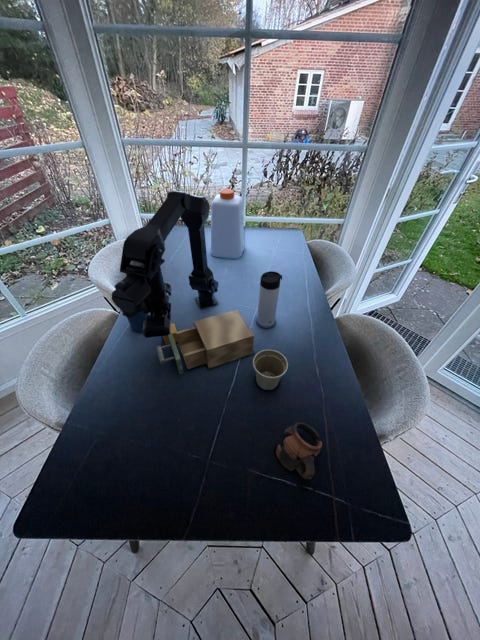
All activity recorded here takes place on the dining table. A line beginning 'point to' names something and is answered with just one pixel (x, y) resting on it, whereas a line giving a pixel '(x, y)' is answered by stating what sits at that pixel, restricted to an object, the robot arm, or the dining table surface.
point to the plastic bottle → (227, 225)
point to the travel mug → (268, 298)
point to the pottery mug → (299, 451)
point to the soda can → (138, 321)
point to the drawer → (185, 349)
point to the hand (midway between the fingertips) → (164, 330)
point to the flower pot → (269, 368)
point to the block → (173, 330)
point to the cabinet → (225, 337)
